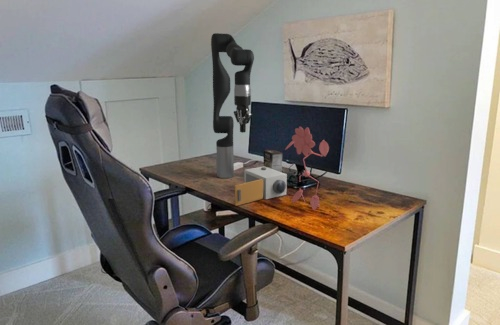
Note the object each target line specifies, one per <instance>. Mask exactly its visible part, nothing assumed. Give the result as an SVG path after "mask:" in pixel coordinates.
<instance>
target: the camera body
mask: <svg viewBox="0 0 500 325" xmlns="http://www.w3.org/2000/svg"><path fill="white" fill-rule="evenodd" d="M243 171H244V173H243V174H244V183H247V182H251V181H255V180H259V179H264V198H263V199H264V200H268V199H272V198H273V199H274V198H279V197H282V196H287V191H288V190H287V188H288V184H287V181H288V174H287V173H284V172H283V171H282V172H279V171H276V170H274V169H271V168H268V167H265V166H264V165H263V166H257V167H254V168H253V167H252V168H247V169H244V170H243Z"/></svg>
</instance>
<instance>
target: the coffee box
mask: <svg viewBox="0 0 500 325" xmlns="http://www.w3.org/2000/svg"><path fill="white" fill-rule="evenodd" d="M263 166H265V167H268V168H271V169H274V170H276V171H279V172H282V173H283V171H282V170H283V169H282V168H283V152H281V151H278V150H275V149H266V150H265V149H264V150H263Z"/></svg>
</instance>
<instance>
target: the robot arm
mask: <svg viewBox="0 0 500 325" xmlns="http://www.w3.org/2000/svg"><path fill="white" fill-rule="evenodd" d="M210 46H211V48H210V49H211V50H210V51H211V61H212V97H213V100H212V101H213V110H212V111H213V112H212V113H213V115H212V129H213V132H214V133H215V134H227V135H226V136H224V137H223V138H220V139H217V140H216V147H215V148H216V176H217V178H220V179H229V178H233V177H234V175H235V174H234V173H235V170H234V169H235V166H234V165H235V164H234V163H235V162H234V161H235V160H234V157H235V156H234V124H235V122H234V117H235V120H236V123H238V124H239V132H240V133H242V134H243V133H246V132H247V131H246V129H247V128H246V127H247V124H249V123H250V121H251V119H252V116H253V113H251V112H250V109H249V108H250V107H249V106H250V105H251V104H252V103H251V102H252V101H251V100H252V92H251V72H252V67H253V65H254V61H255V54H254V52H253V50H252V49H245V48H243V47H241V46H240V45H239V44H238V43H237V41H236V40H235V38H234V37H233V35H231V34H229V33H213V34H211V39H210ZM220 53H226V56H228V58H230V62H231V64H232V65H233V66H238V67H239V66H240V67H241V66H242V67H244V68H243V69H242V70H238V71H236V72H235V73H234V90H233V91H234V92H233V93H234V94H233V95H234V98H233V99H234V102H233V103H234V106H236V107H235V109H236V110H234V111H233V115H234V117H233V116H231V115H220V112H221V110H222V107H223V105H224V103H225V101H226V100H227V99H228V96H229V95H230V93H231V77H230V75H229V73H228V72H227V69H225V67H224V65H223V63H222V61H221V58H220Z"/></svg>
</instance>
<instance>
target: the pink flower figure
mask: <svg viewBox="0 0 500 325" xmlns="http://www.w3.org/2000/svg"><path fill="white" fill-rule="evenodd" d="M294 133H295V134H293V135H292V136H291V140H292V141H290V143H288V145H287V146H286V147H285V149H284V150H285V151H286V150H288V149H289V148H290V147H291V146H292V145H293V147H294V148H296V154H297V155H301V154H303V155H304V157H303V159H302V162H303V166H304V170H305V171H303V173H302V174H301V175H299V181H301V177H302V176H304V177H305V178H311V179H313V180H314V181H316V182H317V185H316V191H315V194H314V195H312V196H311V198H310V202H309V204H310V207H311V209H312V211H316V210H317V208H321V207H320V198H319V196H318V195H317V193H318V188H319V184H320V182H319V180H318V179H315V178H314V177H312V176H311V172H310V170H307V168H306V162H305V159H307V158H308V157H309V156H310V155H312V154H313V155H315V156H318V157H321V158H322V157H327V155H328V153H329V150H330V146H329V143H328V142H327V141H325V139H323V140H322V141H321V142H320V143H319V146H318V150H319V153H320V154H319V153H316V152H314V151H313V150H312V149H313V148H314V147H315V146H316V142H315V141H314V140H313V134H312V133H311V131H310V128H309V127H308V126H307V127H306V128H305V129H304V128H303V127H302V126H299V127H298V128H297V127H296V128H295V129H294ZM300 198H302V200H303V202H304V203H305V202H306V200H305V198H304V195H303V189H298V190H297V191H296V192H295V193H294V195H293V197H292V200H291V203H295V202H297V201H298V200H299V199H300ZM285 211H287V213H292V214H294V215H296V213H295V212H292V211H290V210H287V209H285ZM298 216H302V214H300V213H298ZM307 216H311V217H312V216H313V214H311V215H310V214H309V215H308V214H306V217H307Z"/></svg>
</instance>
